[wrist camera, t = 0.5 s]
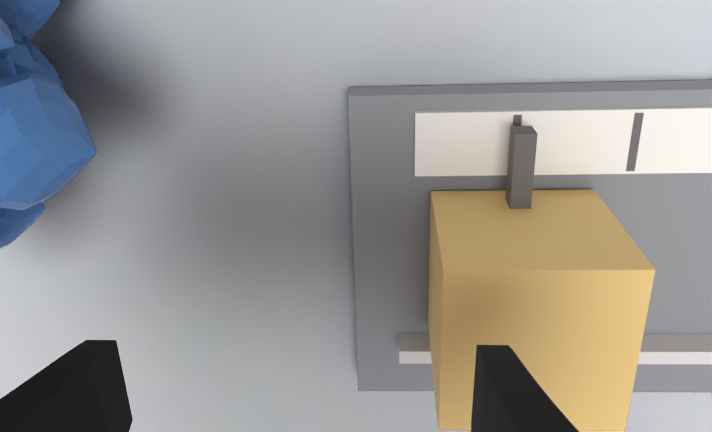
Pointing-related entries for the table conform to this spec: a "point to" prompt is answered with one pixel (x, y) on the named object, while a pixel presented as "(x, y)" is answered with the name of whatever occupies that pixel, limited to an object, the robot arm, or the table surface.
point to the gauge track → (552, 172)
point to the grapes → (33, 121)
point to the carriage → (536, 294)
